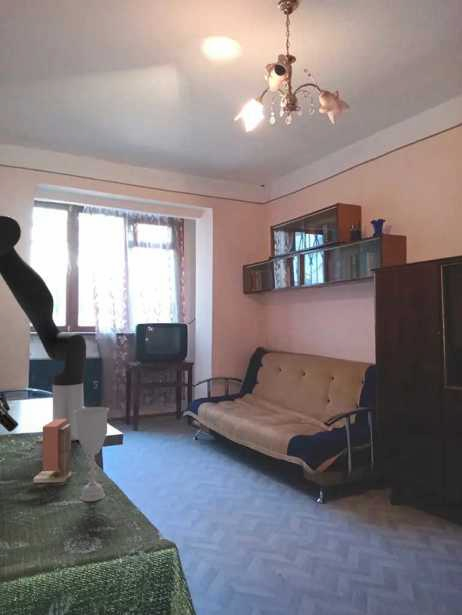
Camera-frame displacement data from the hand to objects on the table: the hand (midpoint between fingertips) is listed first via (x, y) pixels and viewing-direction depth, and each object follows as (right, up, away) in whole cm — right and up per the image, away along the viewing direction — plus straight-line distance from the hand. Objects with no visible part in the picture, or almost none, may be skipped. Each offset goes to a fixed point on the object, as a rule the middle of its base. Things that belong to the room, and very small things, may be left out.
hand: (14, 428), depth 108 cm
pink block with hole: (+10, -9, 0) cm, 13 cm away
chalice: (+22, -11, -12) cm, 27 cm away
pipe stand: (+9, -12, 0) cm, 15 cm away
